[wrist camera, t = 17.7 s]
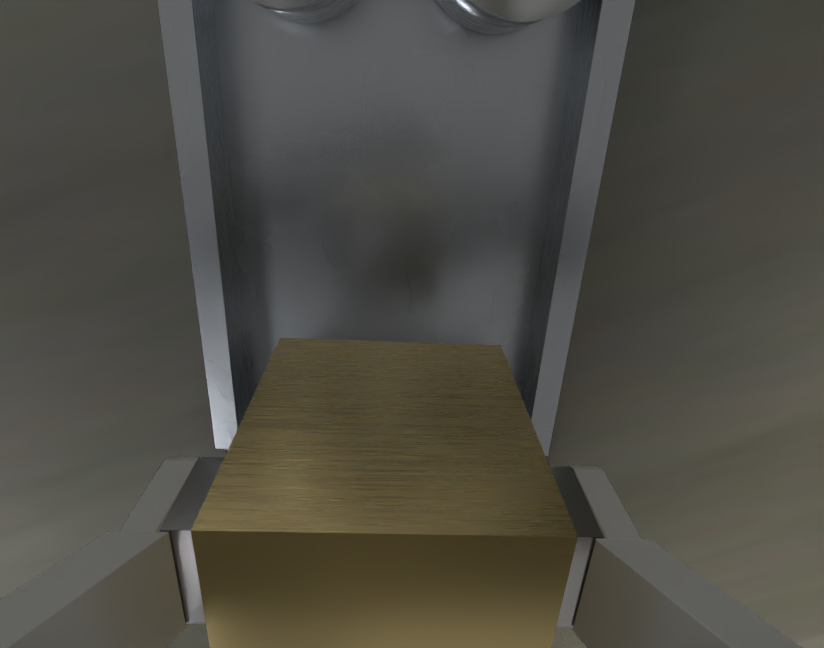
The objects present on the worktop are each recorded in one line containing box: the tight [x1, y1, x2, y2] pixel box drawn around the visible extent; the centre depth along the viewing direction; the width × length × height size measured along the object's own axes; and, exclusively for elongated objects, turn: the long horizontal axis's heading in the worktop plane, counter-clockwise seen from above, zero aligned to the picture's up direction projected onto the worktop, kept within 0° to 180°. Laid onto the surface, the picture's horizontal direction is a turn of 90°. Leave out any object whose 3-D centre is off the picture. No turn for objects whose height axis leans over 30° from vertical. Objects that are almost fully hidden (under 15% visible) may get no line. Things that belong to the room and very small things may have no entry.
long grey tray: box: [157, 0, 635, 456], centre depth 13 cm, size 17×10×9 cm, turn 177°
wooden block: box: [191, 338, 578, 648], centre depth 8 cm, size 4×4×4 cm
